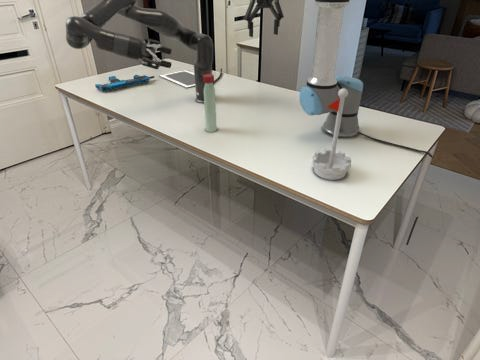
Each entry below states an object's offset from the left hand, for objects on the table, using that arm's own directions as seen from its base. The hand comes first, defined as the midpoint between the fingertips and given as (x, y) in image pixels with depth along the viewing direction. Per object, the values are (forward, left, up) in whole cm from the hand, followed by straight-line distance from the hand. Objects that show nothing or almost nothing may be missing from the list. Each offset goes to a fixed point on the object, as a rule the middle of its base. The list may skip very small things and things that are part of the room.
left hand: (171, 58), depth 129 cm
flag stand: (+39, +53, -32) cm, 73 cm away
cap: (-3, +14, -8) cm, 17 cm away
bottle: (-3, +14, -32) cm, 35 cm away
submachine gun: (-79, -32, -32) cm, 91 cm away
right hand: (-36, +44, +1) cm, 57 cm away
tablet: (-82, +5, -32) cm, 88 cm away
